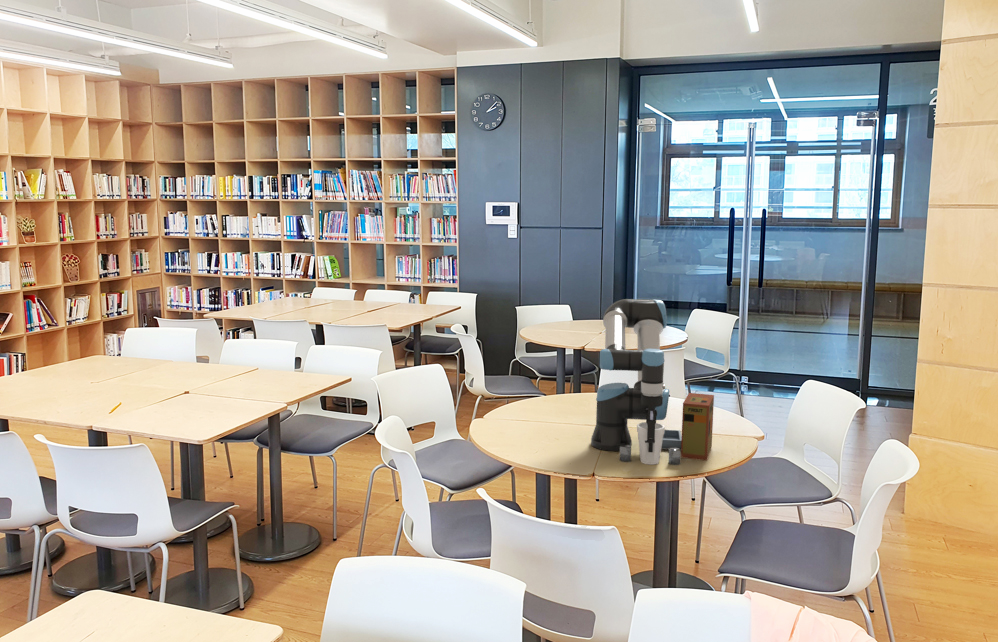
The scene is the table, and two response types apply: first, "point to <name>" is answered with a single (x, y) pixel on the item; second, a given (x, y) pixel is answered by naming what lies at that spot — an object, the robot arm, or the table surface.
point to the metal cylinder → (625, 453)
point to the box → (697, 426)
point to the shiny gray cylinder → (674, 456)
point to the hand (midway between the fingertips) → (649, 455)
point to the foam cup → (643, 437)
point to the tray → (671, 439)
